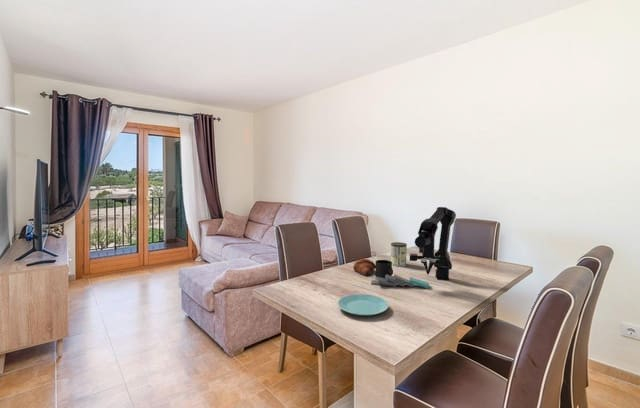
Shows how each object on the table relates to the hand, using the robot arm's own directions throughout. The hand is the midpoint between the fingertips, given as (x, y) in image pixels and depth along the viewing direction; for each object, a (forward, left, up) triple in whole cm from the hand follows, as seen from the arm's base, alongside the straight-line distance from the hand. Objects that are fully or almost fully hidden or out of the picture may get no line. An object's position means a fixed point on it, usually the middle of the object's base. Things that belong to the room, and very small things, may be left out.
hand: (427, 274), depth 161 cm
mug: (+23, -11, -7) cm, 26 cm away
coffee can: (+16, -42, -7) cm, 45 cm away
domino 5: (0, 0, -6) cm, 6 cm away
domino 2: (+17, +1, -6) cm, 18 cm away
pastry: (+36, -21, -8) cm, 43 cm away
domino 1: (+19, 0, -7) cm, 20 cm away
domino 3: (+12, 0, -6) cm, 14 cm away
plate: (+30, +36, -8) cm, 47 cm away
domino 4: (+8, 0, -6) cm, 10 cm away
